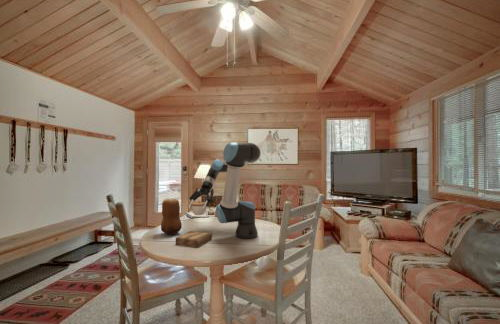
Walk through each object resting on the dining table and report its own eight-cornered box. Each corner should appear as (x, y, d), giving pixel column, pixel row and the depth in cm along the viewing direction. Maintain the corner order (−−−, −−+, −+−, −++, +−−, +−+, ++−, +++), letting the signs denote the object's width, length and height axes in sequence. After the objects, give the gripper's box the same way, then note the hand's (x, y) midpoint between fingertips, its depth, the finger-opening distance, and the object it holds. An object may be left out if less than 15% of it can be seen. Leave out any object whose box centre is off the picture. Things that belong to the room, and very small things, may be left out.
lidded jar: (203, 216, 173) (203, 202, 173) (188, 215, 175) (188, 201, 175) (209, 212, 183) (209, 199, 183) (195, 212, 186) (194, 199, 185)
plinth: (211, 239, 167) (211, 233, 167) (198, 247, 152) (198, 240, 152) (190, 237, 173) (190, 230, 173) (175, 244, 158) (175, 237, 158)
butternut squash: (174, 230, 189) (174, 196, 189) (185, 233, 180) (185, 198, 180) (156, 234, 178) (156, 198, 178) (167, 238, 170) (167, 200, 169)
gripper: (223, 187, 189) (213, 213, 175) (196, 186, 197) (184, 211, 183) (220, 181, 184) (209, 206, 170) (192, 180, 192) (180, 204, 178)
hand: (196, 209), depth 176 cm, fingers closed on lidded jar, 11 cm apart
